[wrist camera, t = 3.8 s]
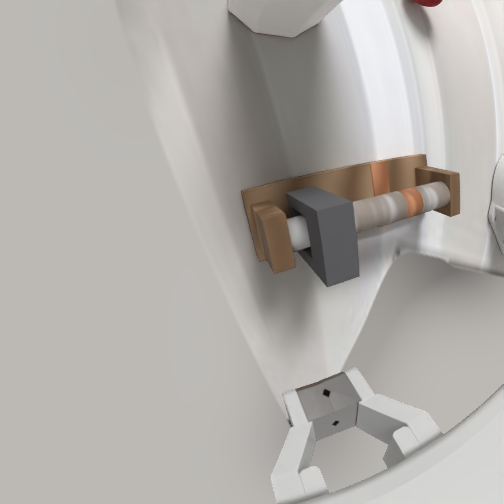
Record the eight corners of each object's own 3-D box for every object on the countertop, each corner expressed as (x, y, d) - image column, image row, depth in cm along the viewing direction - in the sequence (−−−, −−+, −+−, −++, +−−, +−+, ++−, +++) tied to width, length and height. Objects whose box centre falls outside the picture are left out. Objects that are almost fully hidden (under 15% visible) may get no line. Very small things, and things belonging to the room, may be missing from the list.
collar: (313, 186, 27) (352, 201, 19) (322, 243, 29) (359, 276, 22) (285, 192, 27) (316, 210, 19) (297, 251, 29) (327, 287, 21)
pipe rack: (421, 153, 30) (460, 160, 23) (425, 209, 33) (461, 224, 26) (240, 191, 29) (252, 204, 22) (258, 258, 32) (272, 289, 25)
